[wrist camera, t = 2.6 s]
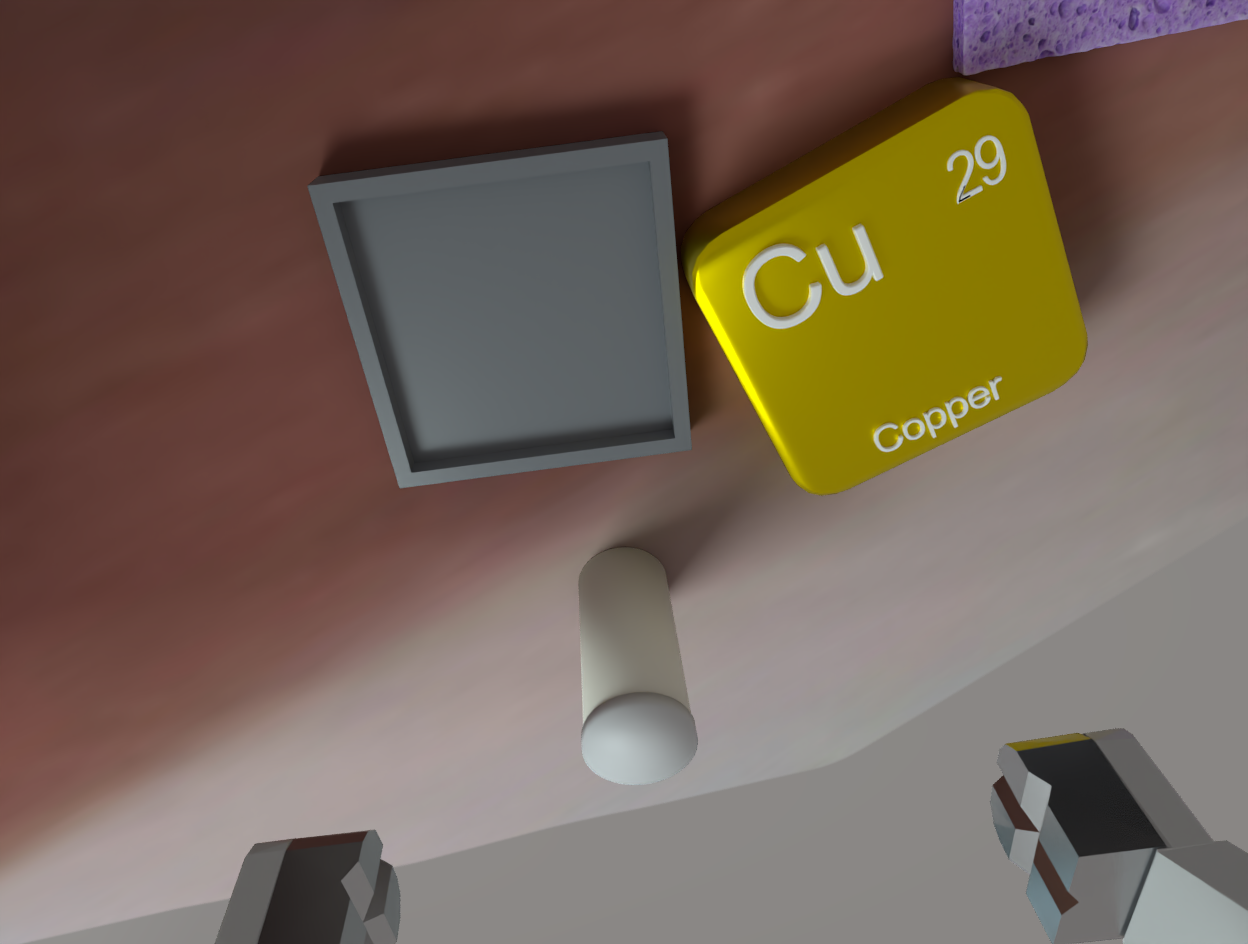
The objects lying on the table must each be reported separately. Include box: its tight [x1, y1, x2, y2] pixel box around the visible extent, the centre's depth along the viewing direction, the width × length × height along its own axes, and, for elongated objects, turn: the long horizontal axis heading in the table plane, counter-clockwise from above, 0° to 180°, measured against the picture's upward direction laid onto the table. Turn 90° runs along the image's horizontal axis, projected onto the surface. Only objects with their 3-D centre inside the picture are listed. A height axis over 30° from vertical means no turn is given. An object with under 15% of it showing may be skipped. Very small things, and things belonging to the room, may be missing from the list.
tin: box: [578, 547, 698, 785], centre depth 43 cm, size 5×5×12 cm
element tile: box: [681, 77, 1088, 496], centre depth 38 cm, size 15×15×5 cm
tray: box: [308, 131, 692, 488], centre depth 39 cm, size 15×15×2 cm
